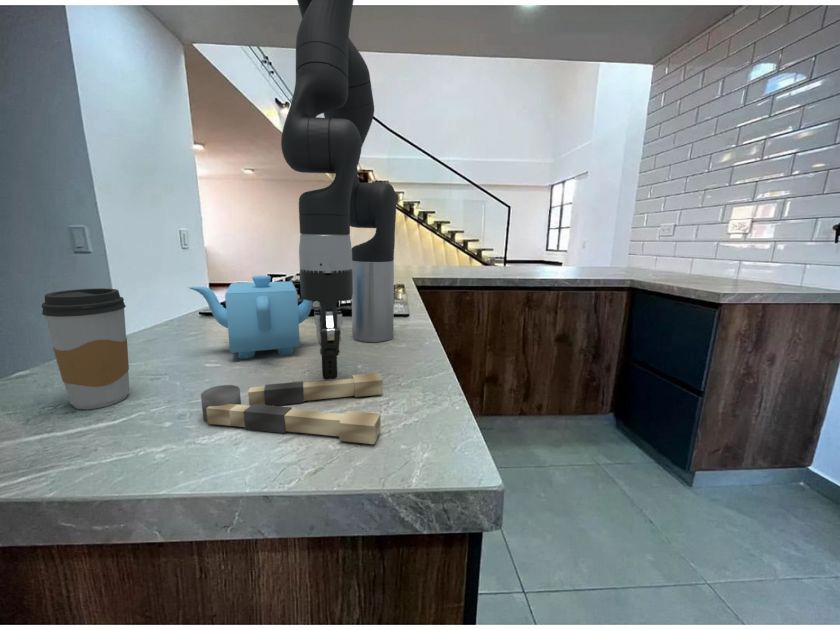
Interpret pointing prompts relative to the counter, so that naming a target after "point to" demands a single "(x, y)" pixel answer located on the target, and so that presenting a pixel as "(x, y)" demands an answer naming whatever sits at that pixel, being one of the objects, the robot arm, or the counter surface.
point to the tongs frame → (286, 417)
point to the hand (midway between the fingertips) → (329, 377)
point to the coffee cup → (89, 345)
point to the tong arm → (316, 390)
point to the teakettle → (259, 315)
